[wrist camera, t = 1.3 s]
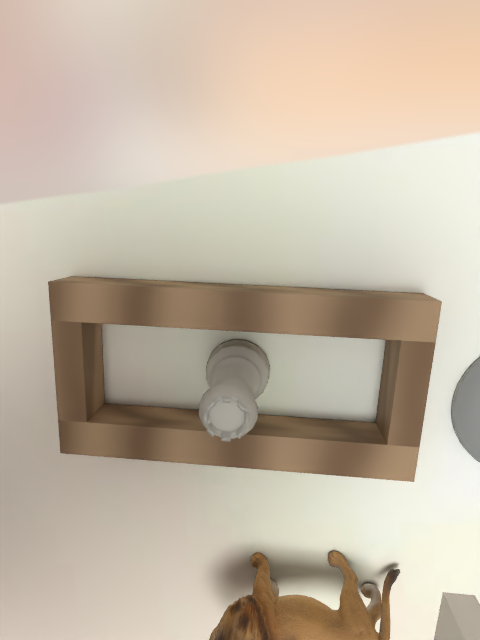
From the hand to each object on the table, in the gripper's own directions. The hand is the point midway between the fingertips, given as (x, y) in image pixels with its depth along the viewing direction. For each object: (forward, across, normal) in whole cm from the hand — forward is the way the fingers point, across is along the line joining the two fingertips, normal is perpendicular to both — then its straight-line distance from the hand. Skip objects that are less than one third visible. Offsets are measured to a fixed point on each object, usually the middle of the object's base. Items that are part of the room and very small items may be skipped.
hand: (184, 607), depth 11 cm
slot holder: (+18, 0, 0) cm, 19 cm away
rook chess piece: (+19, 0, 0) cm, 19 cm away
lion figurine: (+19, +5, -17) cm, 26 cm away
